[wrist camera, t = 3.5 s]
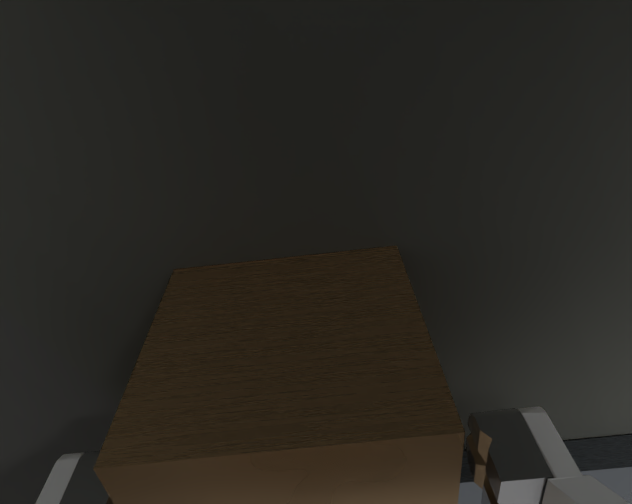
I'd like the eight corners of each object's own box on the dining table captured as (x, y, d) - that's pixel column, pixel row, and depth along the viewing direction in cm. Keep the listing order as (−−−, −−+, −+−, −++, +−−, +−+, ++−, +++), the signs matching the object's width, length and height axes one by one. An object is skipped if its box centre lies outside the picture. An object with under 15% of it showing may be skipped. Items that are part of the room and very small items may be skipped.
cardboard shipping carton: (395, 242, 10) (464, 431, 6) (398, 441, 14) (443, 647, 10) (175, 266, 11) (92, 469, 6) (234, 457, 14) (208, 668, 10)
